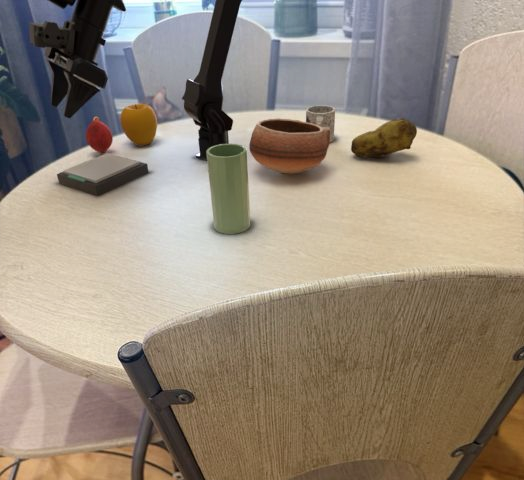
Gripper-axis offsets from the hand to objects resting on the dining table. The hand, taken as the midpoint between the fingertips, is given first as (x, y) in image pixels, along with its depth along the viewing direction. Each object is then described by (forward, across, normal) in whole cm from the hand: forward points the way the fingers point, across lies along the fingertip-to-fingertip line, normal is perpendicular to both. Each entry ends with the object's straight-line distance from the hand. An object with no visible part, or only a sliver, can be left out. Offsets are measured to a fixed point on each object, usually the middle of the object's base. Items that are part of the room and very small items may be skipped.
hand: (59, 111), depth 98 cm
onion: (+7, -17, +17) cm, 25 cm away
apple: (+1, -18, +26) cm, 32 cm away
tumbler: (+3, +32, +23) cm, 40 cm away
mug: (-18, +6, +54) cm, 57 cm away
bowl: (-9, +17, +41) cm, 45 cm away
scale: (+9, -2, +13) cm, 16 cm away
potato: (-21, +22, +58) cm, 66 cm away
